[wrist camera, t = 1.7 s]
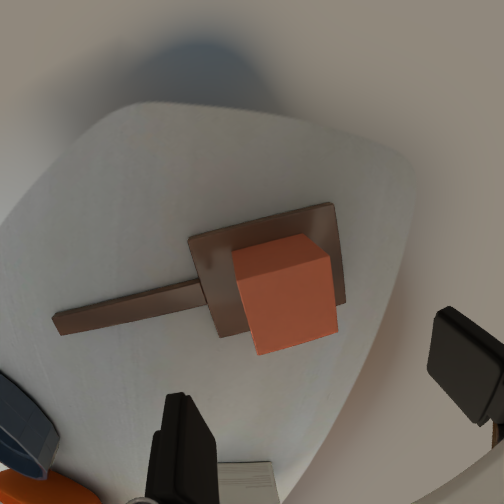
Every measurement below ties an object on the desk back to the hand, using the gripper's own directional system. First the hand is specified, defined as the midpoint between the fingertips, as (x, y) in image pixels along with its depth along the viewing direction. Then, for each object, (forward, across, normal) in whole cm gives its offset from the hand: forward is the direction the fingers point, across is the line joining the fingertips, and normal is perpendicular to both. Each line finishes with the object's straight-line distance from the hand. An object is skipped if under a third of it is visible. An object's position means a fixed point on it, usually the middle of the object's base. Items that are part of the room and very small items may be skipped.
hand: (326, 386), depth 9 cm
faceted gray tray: (+10, +34, +9) cm, 37 cm away
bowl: (+11, +42, +30) cm, 53 cm away
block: (+9, 0, -1) cm, 9 cm away
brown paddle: (+10, +6, -1) cm, 12 cm away
